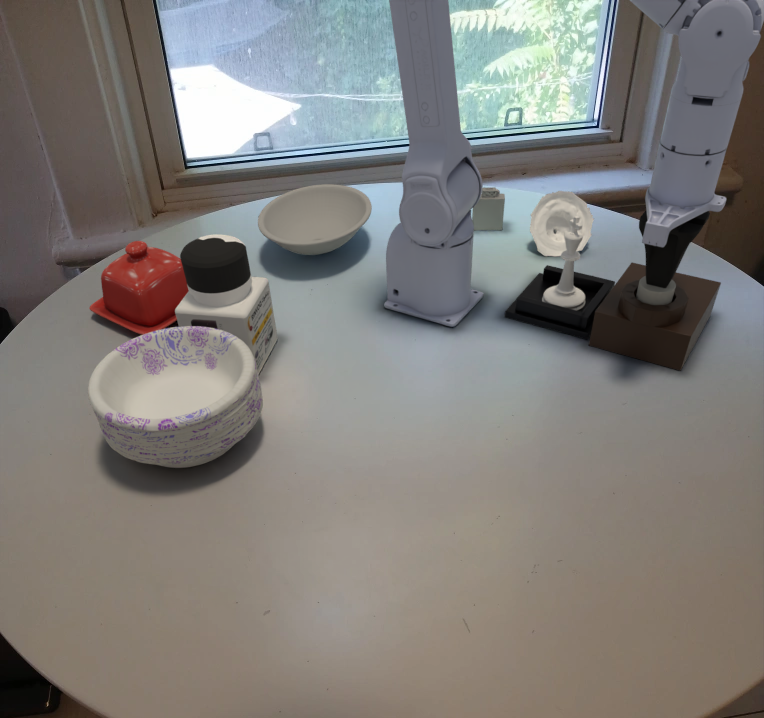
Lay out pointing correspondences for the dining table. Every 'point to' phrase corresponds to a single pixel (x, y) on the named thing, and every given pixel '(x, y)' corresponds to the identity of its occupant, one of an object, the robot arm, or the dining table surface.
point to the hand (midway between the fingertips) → (657, 283)
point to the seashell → (559, 222)
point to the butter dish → (142, 289)
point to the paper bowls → (176, 395)
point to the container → (227, 294)
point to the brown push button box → (653, 319)
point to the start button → (655, 293)
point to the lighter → (489, 210)
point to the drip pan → (557, 317)
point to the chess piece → (568, 273)
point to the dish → (315, 218)
